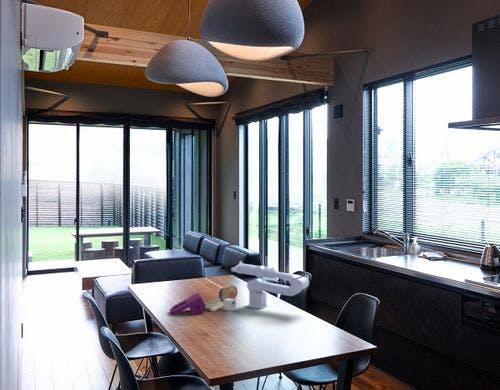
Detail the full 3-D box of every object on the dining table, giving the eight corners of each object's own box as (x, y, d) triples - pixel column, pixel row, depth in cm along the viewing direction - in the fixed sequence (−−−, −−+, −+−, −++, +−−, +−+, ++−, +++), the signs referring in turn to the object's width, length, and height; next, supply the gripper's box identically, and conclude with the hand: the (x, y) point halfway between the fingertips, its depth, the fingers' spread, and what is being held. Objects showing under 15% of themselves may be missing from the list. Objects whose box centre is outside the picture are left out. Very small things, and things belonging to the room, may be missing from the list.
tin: (221, 303, 272) (221, 289, 272) (217, 302, 274) (217, 288, 274) (237, 298, 284) (237, 284, 284) (233, 297, 286) (233, 284, 286)
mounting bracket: (177, 326, 246) (207, 310, 250) (170, 313, 245) (200, 296, 249) (175, 321, 255) (204, 305, 259) (168, 308, 254) (198, 292, 258)
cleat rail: (227, 305, 267) (227, 300, 267) (212, 311, 255) (212, 305, 255) (218, 303, 270) (218, 298, 270) (203, 309, 258) (203, 303, 258)
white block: (236, 309, 260) (236, 299, 260) (232, 311, 256) (232, 301, 256) (228, 307, 263) (228, 297, 263) (223, 309, 259) (223, 299, 259)
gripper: (253, 261, 274) (234, 258, 281) (240, 263, 262) (221, 260, 269) (253, 272, 274) (234, 270, 281) (240, 276, 262) (220, 272, 269)
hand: (227, 266), depth 275 cm, fingers open, 7 cm apart
